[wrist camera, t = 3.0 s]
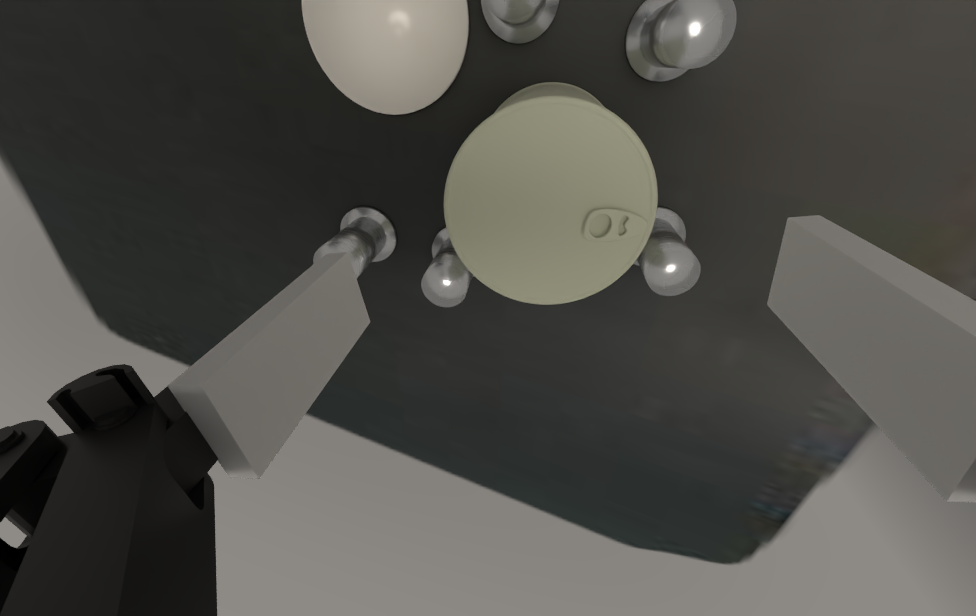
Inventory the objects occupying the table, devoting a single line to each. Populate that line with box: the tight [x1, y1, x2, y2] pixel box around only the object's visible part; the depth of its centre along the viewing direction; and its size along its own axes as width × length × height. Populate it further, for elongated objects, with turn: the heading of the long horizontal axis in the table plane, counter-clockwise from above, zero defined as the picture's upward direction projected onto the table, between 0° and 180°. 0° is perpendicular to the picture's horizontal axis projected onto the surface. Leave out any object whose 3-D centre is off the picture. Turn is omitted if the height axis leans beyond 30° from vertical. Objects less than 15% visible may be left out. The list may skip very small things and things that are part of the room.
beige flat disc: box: [302, 0, 470, 115], centre depth 24 cm, size 10×10×1 cm
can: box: [444, 82, 658, 305], centre depth 22 cm, size 9×9×12 cm
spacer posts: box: [313, 0, 736, 307], centre depth 25 cm, size 25×19×6 cm
